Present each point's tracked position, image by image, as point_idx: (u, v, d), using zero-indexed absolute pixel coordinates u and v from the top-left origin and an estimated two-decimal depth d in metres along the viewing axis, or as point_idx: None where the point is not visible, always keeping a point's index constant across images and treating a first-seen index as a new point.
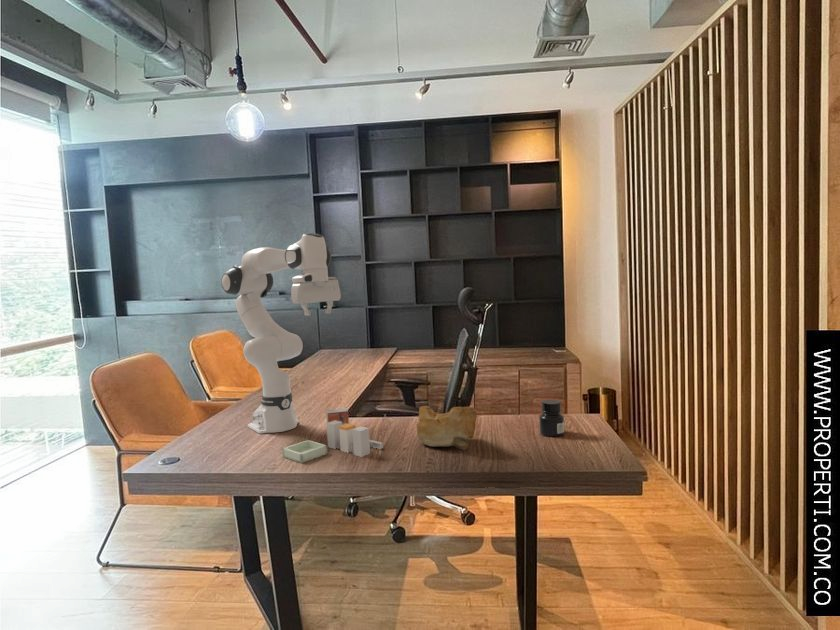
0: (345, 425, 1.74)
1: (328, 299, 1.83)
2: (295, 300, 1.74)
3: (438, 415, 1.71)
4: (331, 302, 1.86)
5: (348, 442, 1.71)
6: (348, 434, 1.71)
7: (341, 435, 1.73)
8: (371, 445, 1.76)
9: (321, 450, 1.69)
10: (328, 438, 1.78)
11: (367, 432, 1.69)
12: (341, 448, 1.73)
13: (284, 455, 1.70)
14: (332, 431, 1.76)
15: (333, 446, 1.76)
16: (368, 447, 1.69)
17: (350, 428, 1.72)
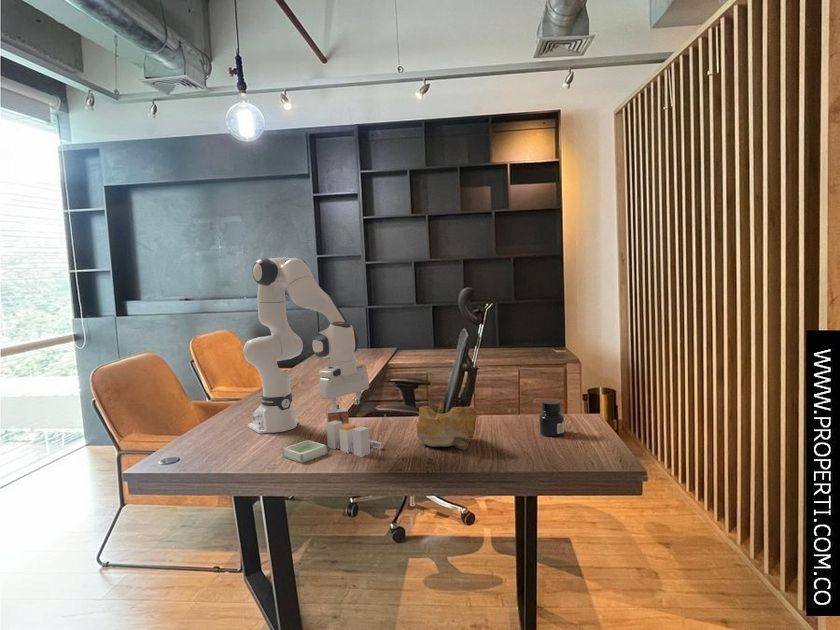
0: (345, 425, 1.74)
1: (357, 390, 1.74)
2: (323, 396, 1.64)
3: (438, 415, 1.71)
4: (359, 392, 1.76)
5: (348, 442, 1.71)
6: (348, 434, 1.71)
7: (341, 435, 1.73)
8: (371, 445, 1.76)
9: (321, 450, 1.69)
10: (328, 438, 1.78)
11: (367, 432, 1.69)
12: (341, 448, 1.73)
13: (284, 455, 1.70)
14: (332, 431, 1.76)
15: (333, 446, 1.76)
16: (368, 447, 1.69)
17: (350, 428, 1.72)
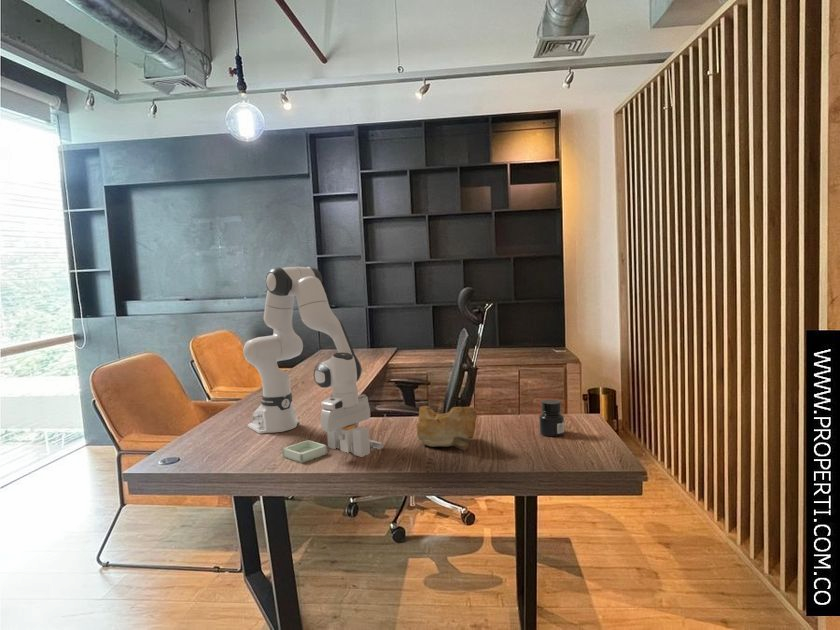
0: None
1: (358, 420, 1.75)
2: (325, 429, 1.65)
3: (438, 415, 1.71)
4: (357, 423, 1.76)
5: (348, 442, 1.71)
6: (348, 434, 1.71)
7: None
8: (371, 445, 1.76)
9: (321, 450, 1.69)
10: (328, 438, 1.78)
11: (367, 432, 1.69)
12: (341, 448, 1.73)
13: (284, 455, 1.70)
14: (332, 431, 1.76)
15: (333, 446, 1.76)
16: (368, 447, 1.69)
17: (350, 428, 1.72)
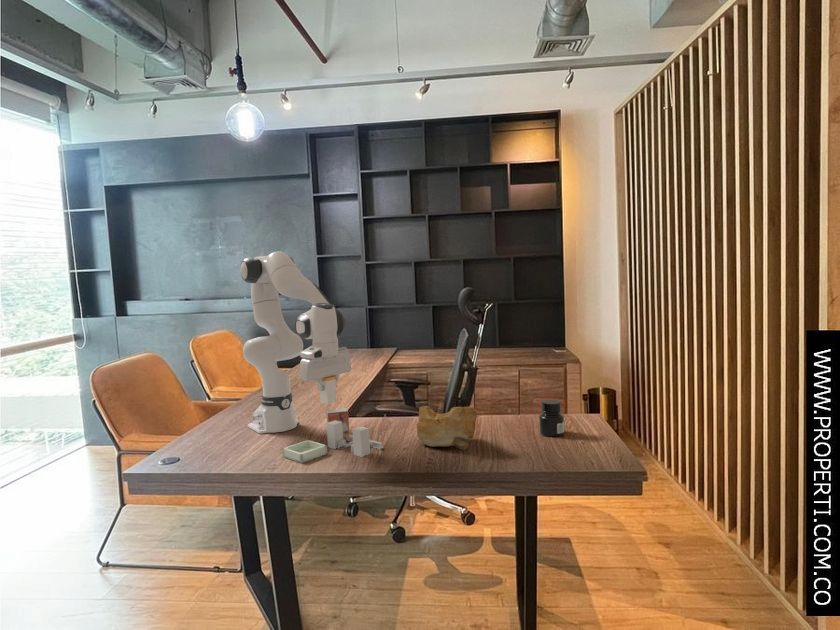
0: None
1: (338, 372, 1.73)
2: (304, 378, 1.63)
3: (438, 415, 1.71)
4: (337, 375, 1.73)
5: (328, 393, 1.69)
6: (327, 385, 1.69)
7: None
8: (371, 445, 1.76)
9: (321, 450, 1.69)
10: (328, 438, 1.78)
11: (367, 432, 1.69)
12: (321, 400, 1.71)
13: (284, 455, 1.70)
14: (332, 431, 1.76)
15: (333, 446, 1.76)
16: (368, 447, 1.69)
17: (330, 379, 1.70)
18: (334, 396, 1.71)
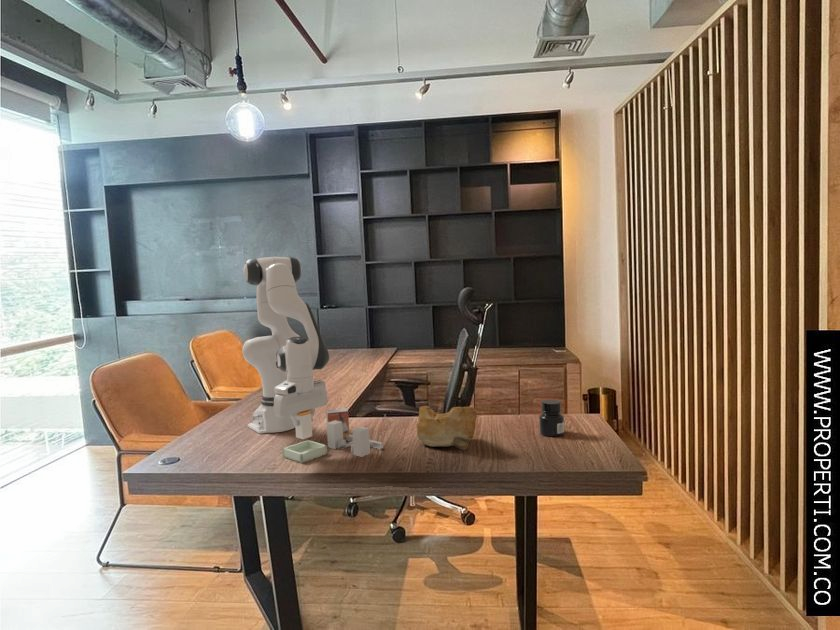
0: None
1: (314, 406, 1.71)
2: (278, 414, 1.62)
3: (438, 415, 1.71)
4: (313, 409, 1.72)
5: (303, 428, 1.68)
6: (303, 420, 1.67)
7: None
8: (371, 445, 1.76)
9: (321, 450, 1.69)
10: (328, 438, 1.78)
11: (367, 432, 1.69)
12: (296, 434, 1.70)
13: (284, 455, 1.70)
14: (332, 431, 1.76)
15: (333, 446, 1.76)
16: (368, 447, 1.69)
17: (305, 414, 1.68)
18: (310, 431, 1.70)
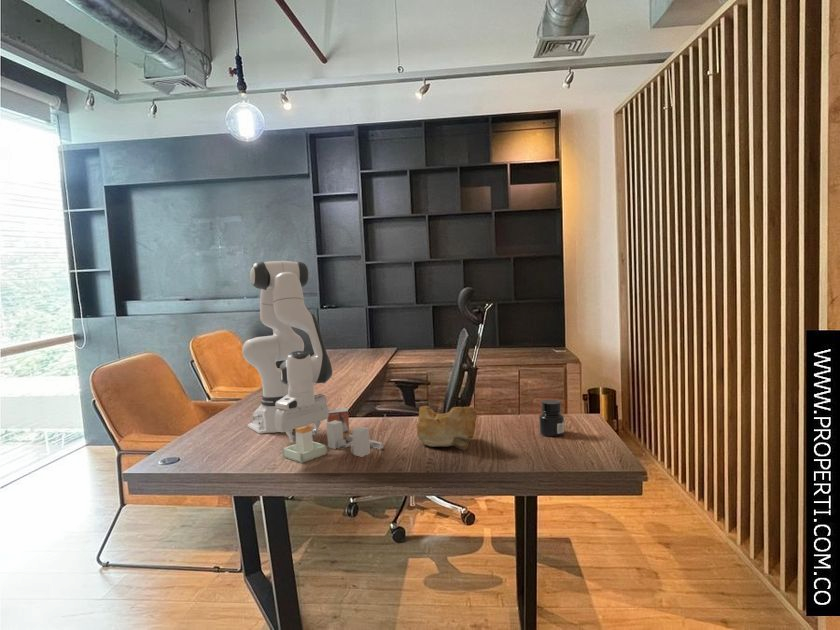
0: (301, 428, 1.70)
1: (315, 420, 1.72)
2: (279, 429, 1.62)
3: (438, 415, 1.71)
4: (318, 422, 1.74)
5: (304, 446, 1.68)
6: (304, 437, 1.68)
7: (297, 438, 1.70)
8: (371, 445, 1.76)
9: (321, 450, 1.69)
10: (328, 438, 1.78)
11: (367, 432, 1.69)
12: (297, 451, 1.70)
13: (284, 455, 1.70)
14: (332, 431, 1.76)
15: (333, 446, 1.76)
16: (368, 447, 1.69)
17: (306, 431, 1.69)
18: (311, 448, 1.70)
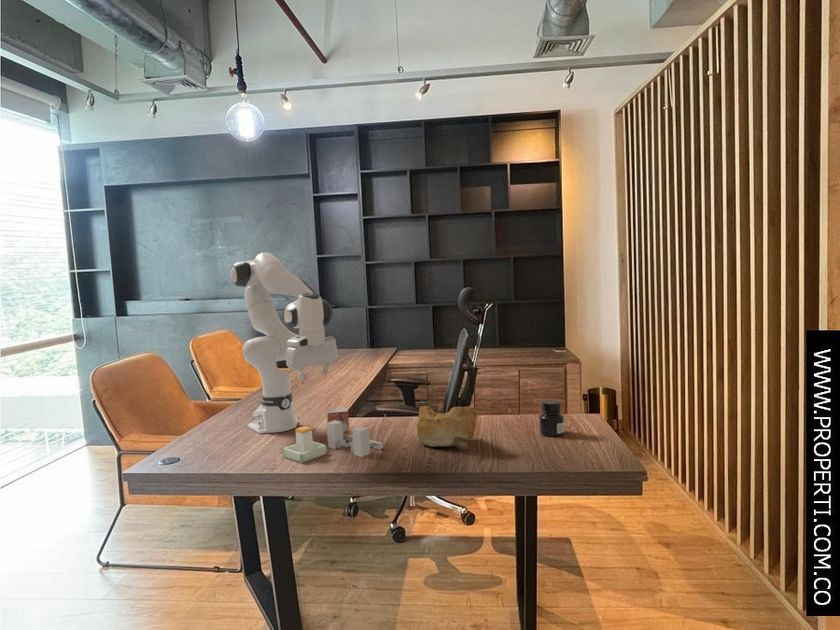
0: (301, 428, 1.70)
1: (325, 361, 1.77)
2: (290, 365, 1.68)
3: (438, 415, 1.71)
4: (328, 363, 1.79)
5: (304, 446, 1.68)
6: (304, 437, 1.68)
7: (297, 438, 1.70)
8: (371, 445, 1.76)
9: (321, 450, 1.69)
10: (328, 438, 1.78)
11: (367, 432, 1.69)
12: (297, 451, 1.70)
13: (284, 455, 1.70)
14: (332, 431, 1.76)
15: (333, 446, 1.76)
16: (368, 447, 1.69)
17: (306, 431, 1.69)
18: (311, 448, 1.70)
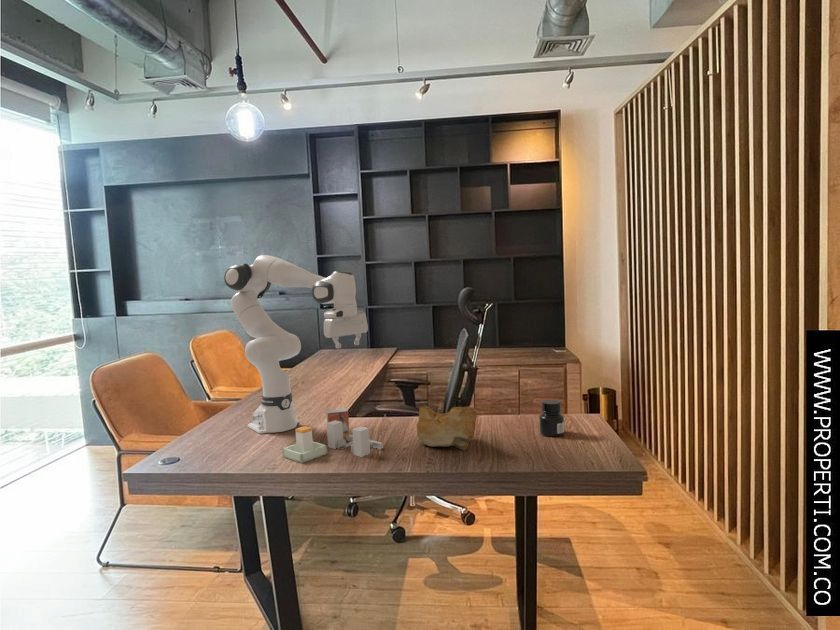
0: (301, 428, 1.70)
1: (357, 332, 1.95)
2: (327, 334, 1.86)
3: (438, 415, 1.71)
4: (359, 334, 1.98)
5: (304, 446, 1.68)
6: (304, 437, 1.68)
7: (297, 438, 1.70)
8: (371, 445, 1.76)
9: (321, 450, 1.69)
10: (328, 438, 1.78)
11: (367, 432, 1.69)
12: (297, 451, 1.70)
13: (284, 455, 1.70)
14: (332, 431, 1.76)
15: (333, 446, 1.76)
16: (368, 447, 1.69)
17: (306, 431, 1.69)
18: (311, 448, 1.70)
